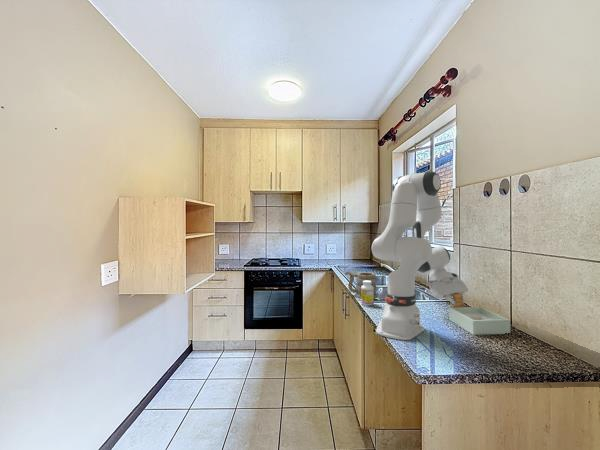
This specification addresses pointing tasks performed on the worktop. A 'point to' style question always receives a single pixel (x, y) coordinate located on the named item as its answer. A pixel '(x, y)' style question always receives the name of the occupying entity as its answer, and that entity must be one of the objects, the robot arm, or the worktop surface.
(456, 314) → the bore box
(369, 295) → the supplement bottle
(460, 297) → the peg
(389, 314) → the robot arm
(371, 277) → the tankard
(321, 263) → the worktop surface
